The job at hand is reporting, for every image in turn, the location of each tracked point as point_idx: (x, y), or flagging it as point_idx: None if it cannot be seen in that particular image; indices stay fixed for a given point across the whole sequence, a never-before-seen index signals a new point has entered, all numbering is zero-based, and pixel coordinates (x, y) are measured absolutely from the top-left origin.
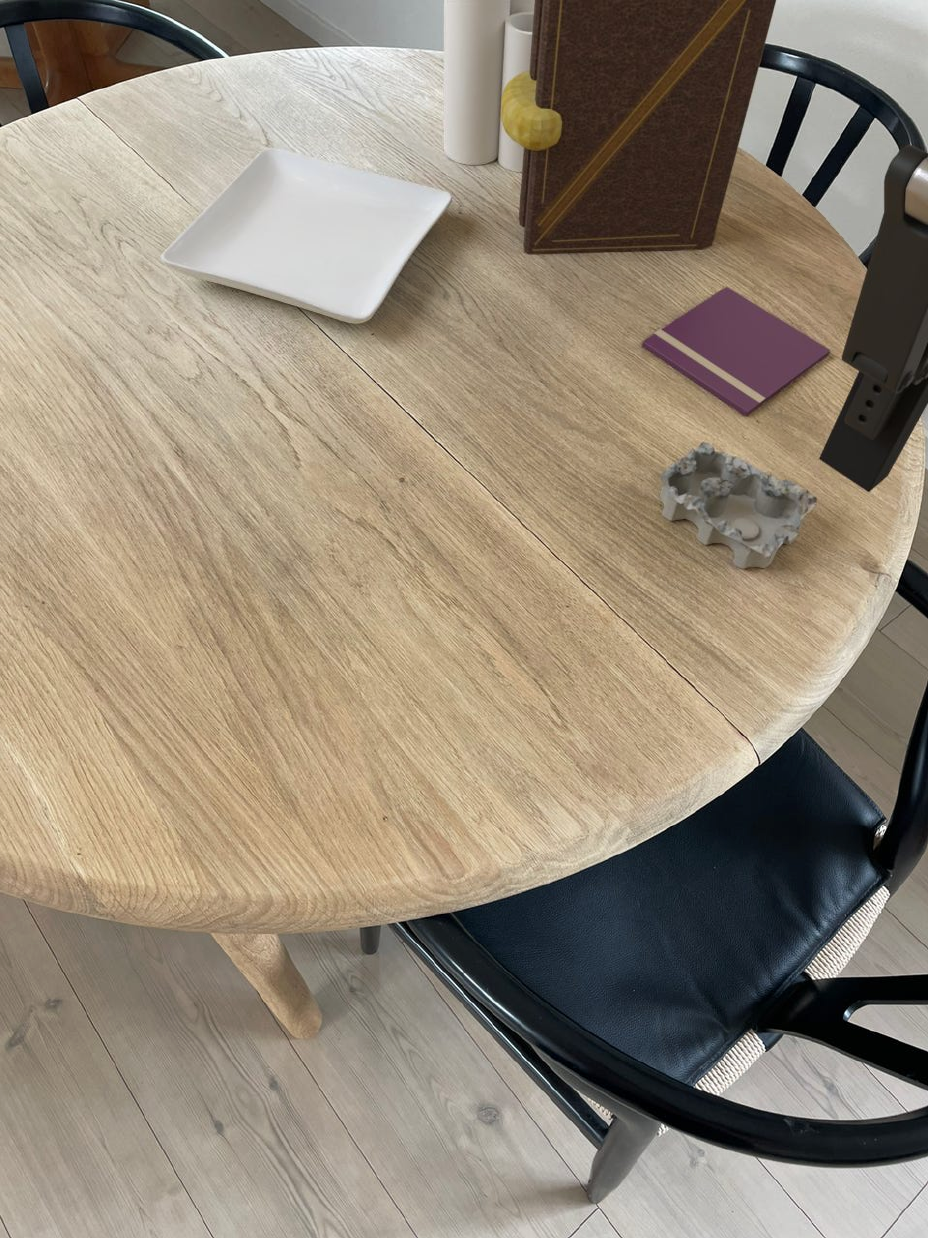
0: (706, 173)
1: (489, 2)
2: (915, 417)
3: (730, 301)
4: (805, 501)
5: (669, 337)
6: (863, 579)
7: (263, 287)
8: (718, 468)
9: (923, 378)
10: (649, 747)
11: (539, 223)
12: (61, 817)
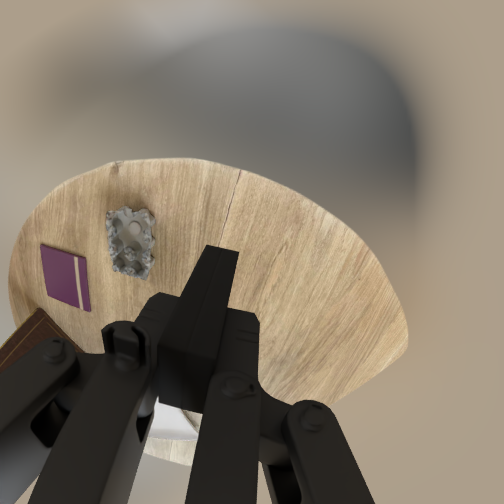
0: (28, 334)
1: None
2: (202, 296)
3: (51, 291)
4: (110, 215)
5: (80, 304)
6: (123, 167)
7: (187, 421)
8: (117, 255)
9: (239, 377)
10: (272, 206)
11: None
12: (395, 349)
